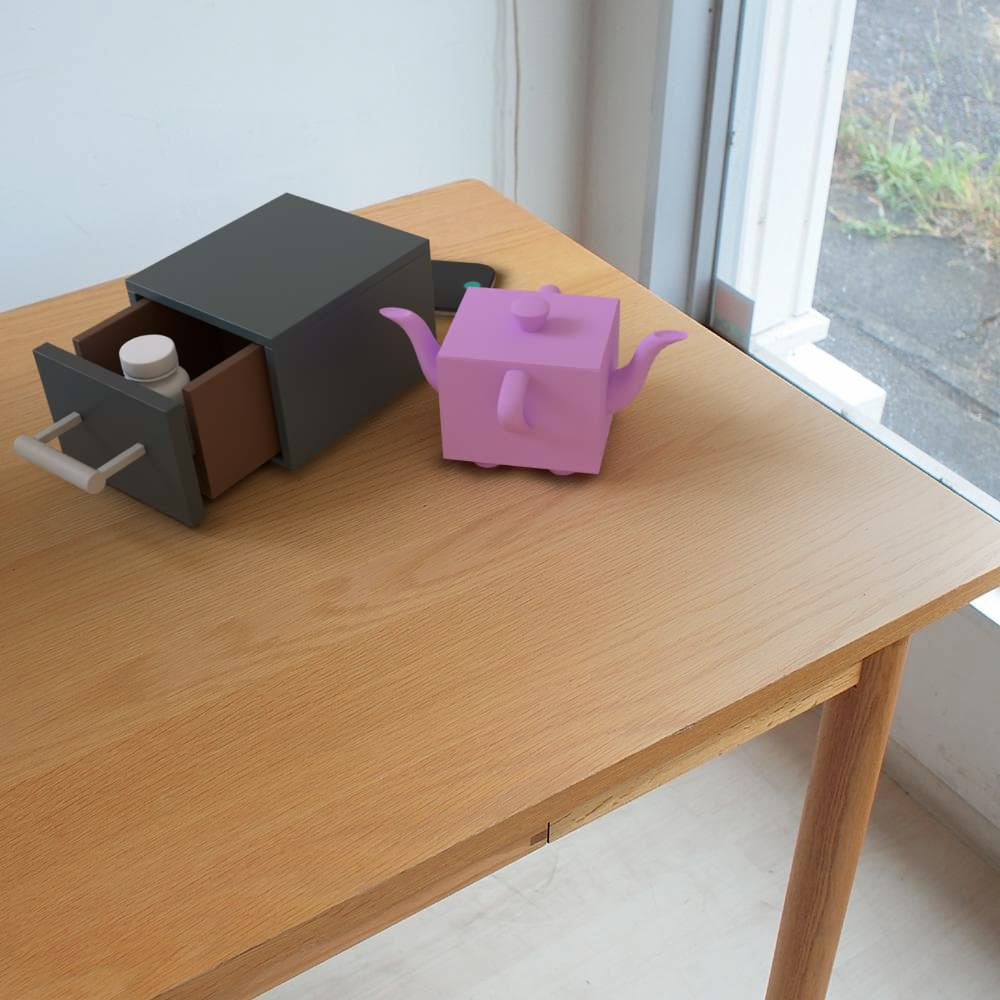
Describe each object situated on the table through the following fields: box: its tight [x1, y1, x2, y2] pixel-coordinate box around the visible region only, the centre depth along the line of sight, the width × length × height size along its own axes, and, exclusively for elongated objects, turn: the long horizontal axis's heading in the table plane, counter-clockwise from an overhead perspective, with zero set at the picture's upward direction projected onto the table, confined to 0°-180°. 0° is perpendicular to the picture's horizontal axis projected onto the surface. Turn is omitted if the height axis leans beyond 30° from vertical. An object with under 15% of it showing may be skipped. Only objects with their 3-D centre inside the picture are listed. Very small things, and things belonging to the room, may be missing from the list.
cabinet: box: [124, 192, 438, 472], centre depth 93 cm, size 16×14×11 cm
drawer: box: [12, 297, 282, 528], centre depth 86 cm, size 19×12×9 cm, turn 144°
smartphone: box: [431, 259, 497, 318], centre depth 106 cm, size 8×1×15 cm
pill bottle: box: [119, 335, 196, 456], centre depth 85 cm, size 4×4×8 cm
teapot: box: [379, 284, 689, 476], centre depth 87 cm, size 15×13×11 cm
